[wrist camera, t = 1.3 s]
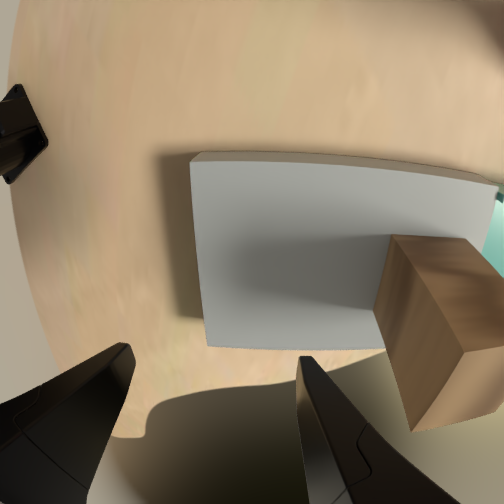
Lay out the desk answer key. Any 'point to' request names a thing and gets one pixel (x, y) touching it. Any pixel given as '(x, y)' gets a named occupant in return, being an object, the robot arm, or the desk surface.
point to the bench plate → (315, 240)
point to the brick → (442, 329)
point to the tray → (496, 235)
